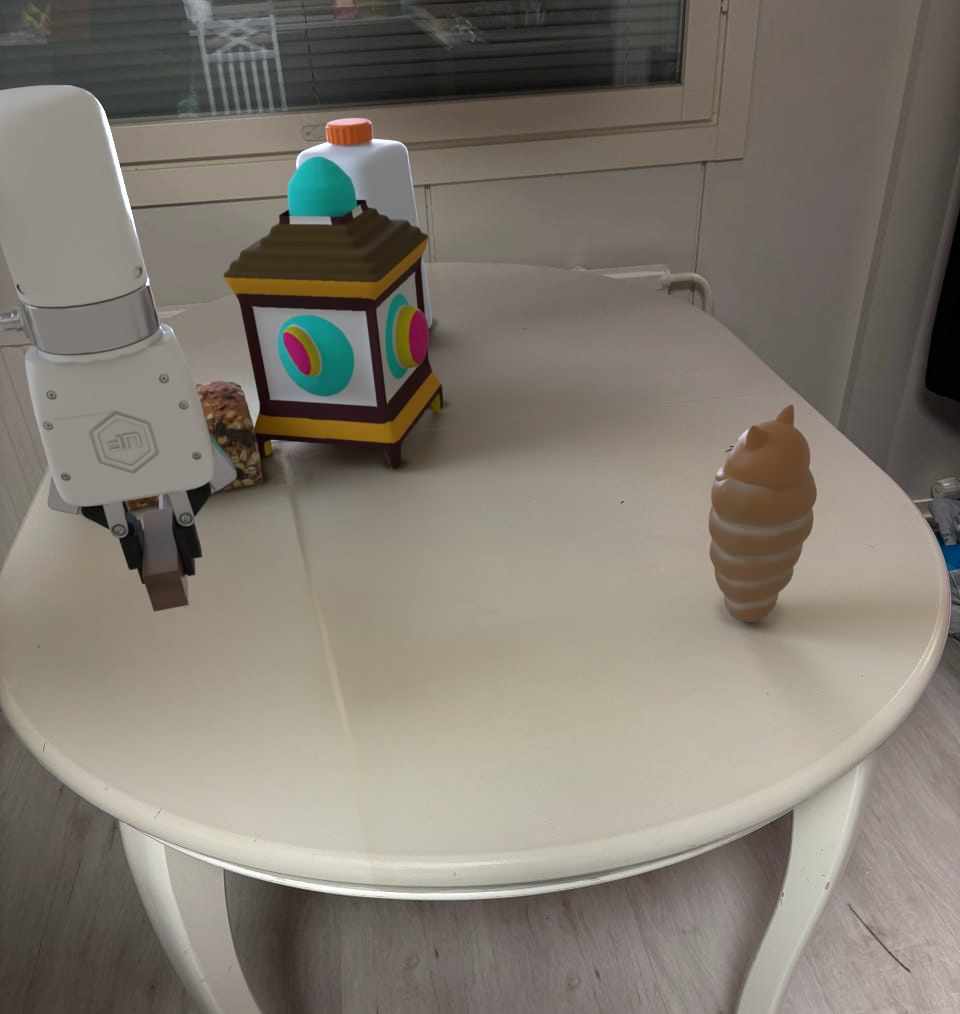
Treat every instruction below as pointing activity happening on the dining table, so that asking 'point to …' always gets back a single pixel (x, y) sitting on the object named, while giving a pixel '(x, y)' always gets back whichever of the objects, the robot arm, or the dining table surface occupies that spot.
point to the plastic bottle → (373, 173)
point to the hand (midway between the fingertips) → (168, 568)
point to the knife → (163, 560)
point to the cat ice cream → (761, 515)
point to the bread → (226, 433)
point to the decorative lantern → (336, 320)
